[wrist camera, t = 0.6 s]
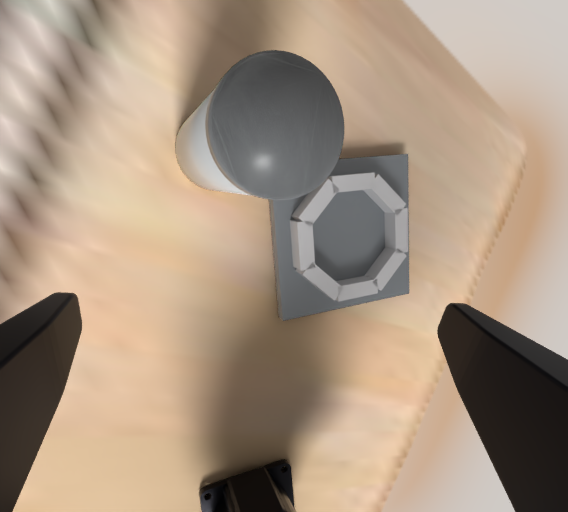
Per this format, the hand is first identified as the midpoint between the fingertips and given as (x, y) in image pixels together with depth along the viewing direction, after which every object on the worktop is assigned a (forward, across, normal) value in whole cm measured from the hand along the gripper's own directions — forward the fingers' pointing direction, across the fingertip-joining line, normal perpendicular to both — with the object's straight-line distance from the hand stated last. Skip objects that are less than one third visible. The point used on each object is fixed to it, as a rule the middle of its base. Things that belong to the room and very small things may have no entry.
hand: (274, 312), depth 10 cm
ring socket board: (+16, -7, +6) cm, 18 cm away
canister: (+16, +2, 0) cm, 16 cm away
